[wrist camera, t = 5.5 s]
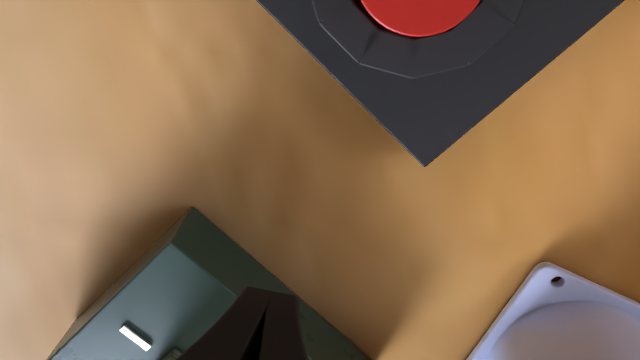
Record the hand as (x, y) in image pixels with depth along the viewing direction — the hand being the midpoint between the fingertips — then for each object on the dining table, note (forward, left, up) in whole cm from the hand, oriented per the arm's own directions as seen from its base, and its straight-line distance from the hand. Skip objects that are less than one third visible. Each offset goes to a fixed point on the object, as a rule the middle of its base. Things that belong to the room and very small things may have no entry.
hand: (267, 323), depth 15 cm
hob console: (0, +10, -10) cm, 14 cm away
